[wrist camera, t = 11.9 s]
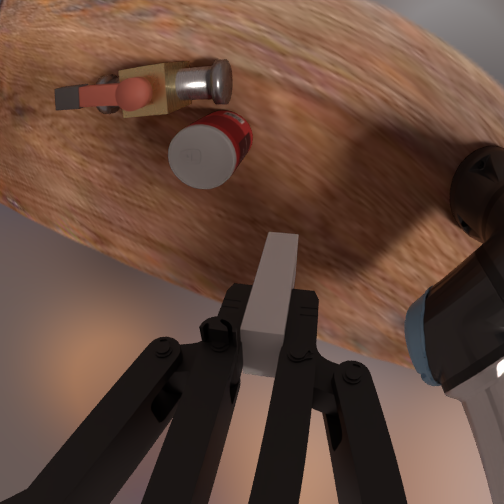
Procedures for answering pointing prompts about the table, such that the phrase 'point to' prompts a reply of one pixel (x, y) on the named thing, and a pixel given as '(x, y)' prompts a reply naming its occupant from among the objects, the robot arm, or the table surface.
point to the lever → (106, 95)
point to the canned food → (210, 149)
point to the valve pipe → (176, 86)
